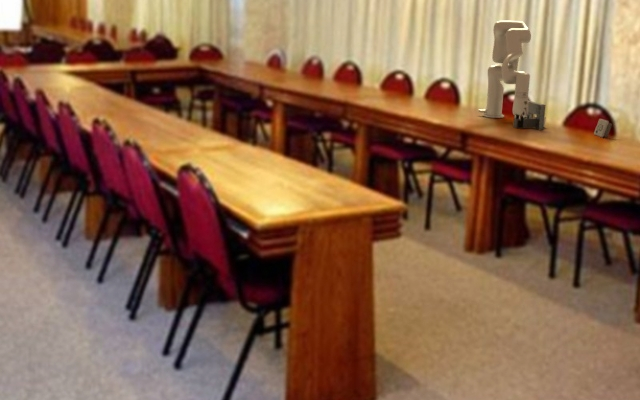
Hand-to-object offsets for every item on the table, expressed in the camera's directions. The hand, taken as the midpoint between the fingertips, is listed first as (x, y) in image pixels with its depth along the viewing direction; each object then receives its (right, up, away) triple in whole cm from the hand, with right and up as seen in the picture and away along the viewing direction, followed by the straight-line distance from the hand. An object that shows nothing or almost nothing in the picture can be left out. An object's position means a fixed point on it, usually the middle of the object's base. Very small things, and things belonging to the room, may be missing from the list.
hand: (518, 126), depth 495 cm
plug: (+6, 0, +2) cm, 7 cm away
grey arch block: (+9, 0, +3) cm, 10 cm away
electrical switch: (+41, -7, -19) cm, 46 cm away
